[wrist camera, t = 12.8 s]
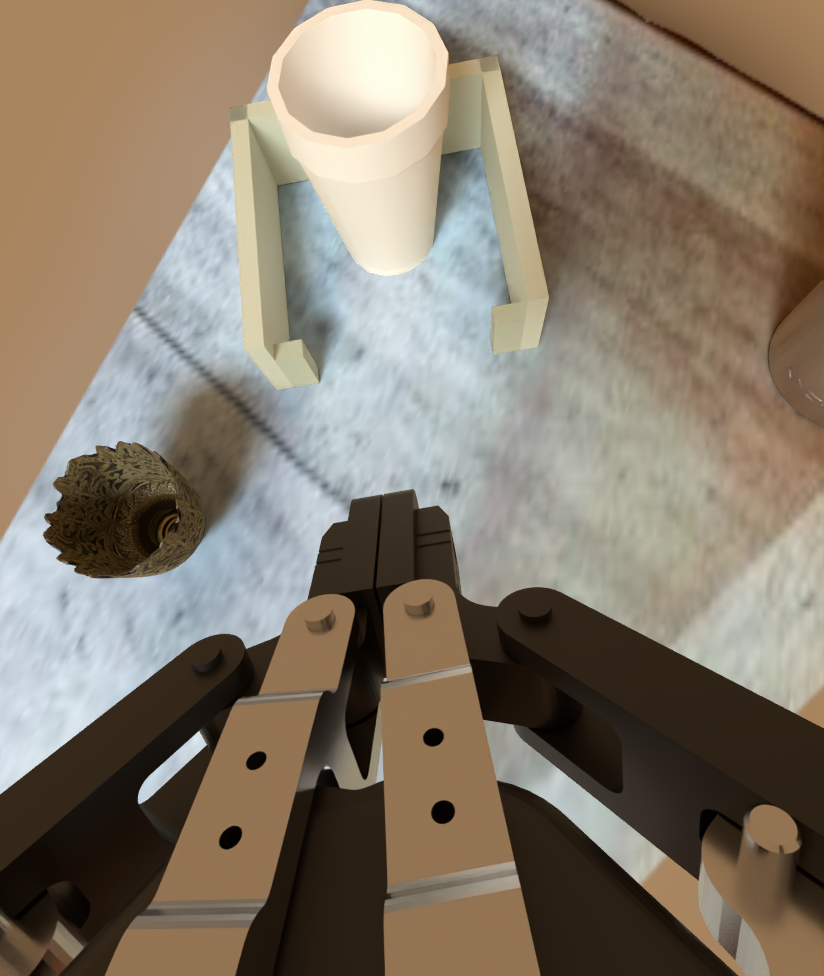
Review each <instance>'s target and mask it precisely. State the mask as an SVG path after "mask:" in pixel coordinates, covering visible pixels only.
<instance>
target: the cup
mask: <svg viewBox="0 0 824 976" xmlns="http://www.w3.org/2000/svg"><path fill="white" fill-rule="evenodd" d="M96 451H97V453H96V454H93V455H82V456H80V457H77V458H74V459H71V460H70V461H69V462H68V464H67V470H66V471H65V475H64V477H58V478H57V479H56V480H55V482H54V483H53V486H54V489H56V490H58V491H59V492H60V493H61V494H62V496H61V499H60V500H59V501H58V502H57V511H56V512H53V513H52V514H50V513H47V514H45V516H44V518H45V520H46V522H47V523H49V524H50V525H51V526H50V527H49V528H48V529H47V530H46V531H45V532H44V534H43V536H44V538H45V540H46V542H47V543H49V544H50V545H51V546H52V547H54V548H56V549H57V550H59V551H60V552H61V554H60V555H58V557H57V558H56V559H57V560H59V561H60V562H63V563H65V564H70V565H74V566H76V568H74V569H75V570H74V571H75V572H76V573H78V574H83V575H86V576H89V577H91V578H132V577H147V576H153V575H158V574H162V573H165V572H168V571H170V570H172V569H174V568H176V567H178V566H179V565H181V564H182V563H183V562H185V561H186V560H187V559H188V558H189V557H190V556H191V555H192V554H193V553H194V551H195V550H196V548H197V547H198V545H199V543H200V541H201V539H202V536H203V533H204V528H205V512H204V507H203V504H202V501H201V499H200V497H199V495H198V493H197V492H196V490H195V489H194V488H193V486H192V485H191V484H190V483H189V482H188V481H187V480H186V479H185V478H184V477H183V476H182V475H181V474H180V473H179V472H178V471H177V470H175V469H174V468H173V467H172V466H171V465H170V464H169V463H167V462H166V461H165V460H164V459H163V458H162V457H161V456H160V455H159V454H158V453H157V452H155V451H154V452H152V451H150V450H149V449H147V448H146V447H144V446H142V445H140V444H138V443H132V444H130V443H128V444H127V443H125V442H121V441H119V442H118V443H117V445H116V449H113V448H110V447H108V446H96ZM173 523H175V528H174V530H172V531H169V529H170V527H171V525H172V524H173ZM168 532H169V533H168Z"/></svg>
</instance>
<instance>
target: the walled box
mask: <svg viewBox="0 0 824 976" xmlns="http://www.w3.org/2000/svg"><path fill="white" fill-rule="evenodd" d="M449 80H450V100H449V111H448V122H447V127H446V128H445V130H444V131H443V140H442V151H441V155H443V154H448V153H454V152H459V151H464V150H470V149H475V148H480V147H481V152H482V157H483V162H484V167H485V173H486V178H487V183H488V188H489V193H490V198H491V203H492V209H493V214H494V219H495V224H496V229H497V234H498V239H499V245H500V250H501V255H502V260H503V265H504V270H505V276H506V281H507V286H508V291H509V296H510V301H511V304H506V305H500V306H494V307H492V320H491V338H490V339H491V345H492V350H493V355H494V354H500V353H506V352H512V351H518V350H524V349H530V348H537V347H538V345H539V340H540V336H541V331H542V327H543V322H544V318H545V313H546V309H547V304H548V300H549V295H548V290H547V286H546V281H545V276H544V272H543V267H542V262H541V257H540V253H539V248H538V243H537V239H536V234H535V229H534V225H533V220H532V215H531V211H530V206H529V201H528V197H527V192H526V187H525V183H524V178H523V173H522V169H521V164H520V159H519V155H518V150H517V145H516V140H515V136H514V131H513V126H512V122H511V117H510V112H509V108H508V103H507V98H506V94H505V89H504V84H503V80H502V75H501V70H500V66H499V61H498V56H497V55H494V56H489V57H484V58H479V59H474V60H469V61H464V62H458V63H453V64H449ZM230 124H231V141H232V157H233V173H234V190H235V206H236V223H237V239H238V256H239V272H240V288H241V305H242V321H243V338H244V350H245V351H246V352H247V353H248V355H249V356H250V357H251V358H252V360H253V361H254V362H255V363H256V365H257V366H258V367H259V368H260V370H261V371H262V372H263V373H264V375H265V376H266V377H267V378H268V380H269V381H270V382H271V383H272V385H273V386H274V387H275V388H276V390H281V389H287V388H293V387H299V386H305V385H312V384H318V383H319V374H318V367H317V365H316V363H315V362H314V360H313V358H312V356H311V355H310V353H309V351H308V349H307V348H306V346H305V344H304V343H303V341H302V339H300V340H294V341H290V335H289V323H288V311H287V299H286V287H285V275H284V263H283V251H282V239H281V227H280V215H279V203H278V191H277V186H278V185H283V184H289V183H294V182H299V181H305V180H309V178H308V176H307V175H306V173H305V171H304V169H303V167H302V166H301V164H300V162H299V161H298V160H297V159H295V158H294V157H293V156H292V154H291V152H290V149H289V147H288V144H287V142H286V139H285V136H284V134H283V131H282V129H281V126H280V124H279V121H278V118H277V116H276V113H275V110H274V108H273V105H272V102H271V100H267V101H262V102H257V103H251V104H246V105H241V106H236V107H231V108H230Z"/></svg>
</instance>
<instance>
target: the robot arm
mask: <svg viewBox="0 0 824 976" xmlns="http://www.w3.org/2000/svg"><path fill="white" fill-rule="evenodd" d="M769 367H770V371H771V374H772V377H773V380H774V383H775V384H776V386H777V388H778V390H779V391H780V393H781V395H782V396H783V397H784V398H785V399H786V401H787V402H788V403H789V404H790V405H791V406H792V407H793V408H794V409H795V410H797V411H798V412H799V413H801V414H802V415H803V416H804V417H806V418H808V419H810V420H812V421H814V422H816V423H818V424H819V425H822V426H824V279H823V280H822V281H821V282H820V283H819V284H818V285H817V286H816V287H815V288H814V289H813V290H812V291H811V292H810V293H809V294H808V295H807V296H806V297H805V298H804V299H803V300H802V301H801V302H800V303H799V304H798V305H797V306H796V307H795V308H794V309H793V310H792V311H791V312H790V313H789V314H788V315H787V316H786V317H785V318H784V320H783V321H782V322H781V323H780V325H779V326H778V327H777V329H776V331H775V333H774V335H773V337H772V339H771V344H770V349H769ZM316 563H317V565H316V566H315V570H314V574H313V579H312V583H311V587H310V591H309V596H308V600H307V601H305V602H303V603H302V604H300V605H299V606H297V607H296V608H295V609H294V610H293V611H292V612H291V613H290V615H289V616H288V618H287V620H286V622H285V625H284V628H283V630H282V633H281V635H279V636H277V637H275V638H273V639H271V640H268V641H265V642H263V643H260V644H258V645H255V646H253V647H250V648H248V649H246V647H245V645H244V643H243V641H242V640H241V639H240V638H239V637H237V636H235V635H231V634H218V635H213V636H210V637H207V638H204V639H202V640H200V641H198V642H196V643H195V644H193V645H191V646H190V647H189V648H187V649H186V650H185V651H183V652H182V653H181V654H180V655H178V656H177V657H176V658H174V659H173V660H172V661H171V662H169V663H168V664H167V665H165V666H164V667H163V668H162V669H160V670H159V671H158V672H156V673H155V674H154V675H153V676H151V677H150V678H149V679H148V680H146V681H145V682H144V683H142V684H141V685H140V686H139V687H137V688H136V689H135V690H133V691H132V692H131V693H130V694H128V695H127V696H126V697H124V698H123V699H122V700H121V701H119V702H118V703H117V704H116V705H114V706H113V707H112V708H110V709H109V710H108V711H107V712H105V713H104V714H103V715H101V716H100V717H99V718H98V719H96V720H95V721H94V722H92V723H91V724H90V725H89V726H87V727H86V728H85V729H84V730H82V731H81V732H80V733H78V734H77V735H76V736H75V737H73V738H72V739H71V740H69V741H68V742H67V743H66V744H64V745H63V746H62V747H60V748H59V749H58V750H57V751H55V752H54V753H53V754H51V755H50V756H49V757H48V758H46V759H45V760H44V761H43V762H41V763H40V764H39V765H37V766H36V767H35V768H34V769H32V770H31V771H30V772H28V773H27V774H26V775H25V776H23V777H22V778H21V779H19V780H18V781H17V782H16V783H14V784H13V785H12V786H11V787H9V788H8V789H7V790H5V791H4V792H3V793H2V794H0V976H738V975H737V974H736V973H735V972H734V971H733V970H732V969H730V968H729V967H728V966H727V965H726V964H725V963H724V962H723V961H722V960H721V959H720V958H719V957H717V956H716V955H715V954H714V953H713V952H712V951H711V950H710V949H709V948H707V946H706V945H705V944H703V943H702V942H701V941H700V940H699V939H698V938H697V937H696V936H695V935H694V934H693V933H692V932H690V931H689V930H688V929H687V928H686V927H685V926H684V925H683V924H682V923H681V922H679V921H678V920H677V919H676V918H675V917H674V916H673V915H672V914H671V913H670V912H669V911H668V910H667V909H666V908H665V907H663V906H662V905H661V904H660V903H659V902H658V901H657V900H656V899H655V898H654V897H653V896H652V895H650V894H649V893H648V892H647V891H646V890H645V889H644V888H643V887H642V886H641V885H640V884H639V883H638V882H636V881H635V880H634V879H633V878H632V877H631V876H630V875H629V874H628V873H627V872H626V871H625V870H624V869H622V868H621V867H620V866H619V865H618V864H617V863H616V862H615V861H614V860H613V859H612V858H611V857H610V856H608V855H607V854H606V853H605V852H604V851H603V850H602V849H601V848H600V847H599V846H598V845H597V844H596V843H594V842H593V841H592V840H591V839H590V838H589V837H588V836H587V835H586V834H585V833H584V832H583V831H582V830H580V829H579V828H578V827H577V826H576V825H575V824H574V823H573V822H572V821H571V820H570V819H569V818H568V817H566V816H565V815H564V814H563V813H562V812H561V811H560V810H558V809H557V808H556V807H554V806H553V805H552V804H550V803H549V802H547V801H546V800H544V799H543V798H541V797H539V796H537V795H536V794H534V793H532V792H530V791H528V790H525V789H523V788H520V787H518V786H515V785H512V784H509V783H505V782H501V781H496V776H495V772H494V767H493V763H492V758H491V754H490V749H489V745H488V740H487V736H486V731H485V727H484V722H483V720H488V721H495V722H501V723H507V724H513V725H514V728H515V730H516V732H517V734H518V735H519V736H520V738H522V739H523V740H524V741H525V742H526V743H527V744H528V745H530V746H531V747H532V748H533V749H535V750H536V751H537V752H538V753H540V754H541V755H542V756H543V757H545V758H546V759H547V760H548V761H550V762H551V763H552V764H553V765H555V766H556V767H557V768H558V769H560V770H561V771H562V772H563V773H565V774H566V775H567V776H568V777H570V778H571V779H572V780H573V781H575V782H576V783H577V784H578V785H580V786H581V787H582V788H583V789H585V790H586V791H587V792H588V793H590V794H591V795H592V796H593V797H595V798H596V799H597V800H598V801H600V802H601V803H602V804H603V805H605V806H606V807H607V808H608V809H610V810H611V811H612V812H613V813H615V814H616V815H617V816H618V817H620V818H621V819H622V820H623V821H625V822H626V823H627V824H628V825H630V826H631V827H632V828H633V829H635V830H636V831H637V832H638V833H640V834H641V835H642V836H643V837H645V838H646V839H647V840H648V841H650V842H651V843H652V844H653V845H655V846H656V847H657V848H658V849H660V850H661V851H662V852H663V853H665V854H666V855H667V856H668V857H670V858H671V859H672V860H673V861H675V862H676V863H677V864H678V865H680V866H681V867H682V868H683V869H685V870H686V871H687V872H688V873H690V874H691V875H692V876H693V877H695V878H696V879H697V880H698V881H699V887H698V899H699V906H700V910H701V913H702V916H703V918H704V920H705V923H706V925H707V926H708V928H709V930H710V932H711V933H712V935H713V936H714V937H715V939H716V940H717V941H718V942H719V944H720V945H721V946H722V947H723V948H724V949H725V950H726V951H727V952H728V953H729V954H730V955H731V957H733V959H734V960H735V961H736V962H737V963H738V965H739V966H740V968H741V969H742V970H743V972H744V973H745V975H746V976H824V728H822V727H820V726H818V725H816V724H814V723H812V722H810V721H808V720H806V719H804V718H802V717H801V716H799V715H797V714H795V713H793V712H791V711H789V710H787V709H785V708H783V707H781V706H779V705H777V704H775V703H773V702H772V701H770V700H768V699H766V698H764V697H762V696H760V695H758V694H756V693H754V692H752V691H750V690H748V689H746V688H744V687H743V686H741V685H739V684H737V683H735V682H733V681H731V680H729V679H727V678H725V677H723V676H721V675H719V674H717V673H715V672H714V671H712V670H710V669H708V668H706V667H704V666H702V665H700V664H698V663H696V662H694V661H692V660H690V659H688V658H686V657H685V656H683V655H681V654H679V653H677V652H675V651H673V650H671V649H669V648H667V647H665V646H663V645H661V644H659V643H657V642H656V641H654V640H652V639H650V638H648V637H646V636H644V635H642V634H640V633H638V632H636V631H634V630H632V629H630V628H628V627H627V626H625V625H623V624H621V623H619V622H617V621H615V620H613V619H611V618H609V617H607V616H605V615H603V614H601V613H600V612H598V611H596V610H594V609H592V608H590V607H588V606H586V605H584V604H582V603H580V602H578V601H576V600H574V599H572V598H571V597H569V596H567V595H565V594H563V593H561V592H558V591H556V590H553V589H549V588H542V587H533V588H526V589H522V590H518V591H516V592H514V593H511V594H510V595H508V596H507V597H506V598H504V599H503V600H502V601H501V603H500V604H499V606H498V607H492V606H484V605H479V604H476V603H473V602H471V601H469V600H467V599H466V598H465V597H463V596H462V595H461V585H460V577H459V569H458V563H457V558H456V553H455V547H454V542H453V537H452V532H451V527H450V522H449V516H448V515H447V514H446V513H445V512H444V511H443V510H442V509H441V508H440V507H439V506H433V507H427V508H421V509H419V506H418V502H417V498H416V494H415V491H414V489H411V490H405V491H399V492H394V493H388V494H384V495H377V496H371V497H365V498H359V499H353V500H352V501H351V506H350V512H349V518H348V521H345V522H339V523H333V525H332V526H331V527H330V528H329V530H328V531H327V532H326V533H325V534H324V536H323V537H322V540H321V544H320V549H319V554H318V557H317V562H316ZM384 678H387V681H386V682H383V680H384ZM198 731H200V733H201V735H202V737H203V738H204V740H205V742H206V744H207V745H206V746H205V747H204V748H203V749H202V750H201V751H200V752H199V753H198V754H197V755H196V756H195V757H194V758H192V759H191V760H190V761H189V762H188V763H187V764H186V765H185V766H184V767H183V768H182V769H181V770H179V771H178V772H177V773H176V774H175V775H174V776H173V777H172V778H171V779H170V780H169V781H168V782H167V783H165V784H164V785H163V786H162V787H161V788H160V789H159V790H158V791H157V792H156V793H155V794H154V795H153V796H151V797H150V798H149V799H148V800H146V801H145V802H143V803H141V804H138V793H139V790H140V788H141V786H142V784H143V783H144V781H145V780H146V779H147V777H148V776H149V775H150V774H151V773H153V772H154V771H155V770H156V769H157V768H158V767H159V766H160V765H161V764H163V763H164V762H165V761H166V760H167V759H168V758H169V757H170V756H171V755H173V754H174V753H175V752H176V751H177V750H178V749H179V748H180V747H181V746H183V745H184V744H185V743H186V742H187V741H188V740H189V739H190V738H191V737H193V736H194V735H195V734H196V733H197V732H198ZM381 742H382V745H383V771H384V781H381V782H378V783H376V779H377V772H378V764H379V757H380V749H381Z"/></svg>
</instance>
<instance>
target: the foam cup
mask: <svg viewBox="0 0 824 976" xmlns="http://www.w3.org/2000/svg"><path fill="white" fill-rule="evenodd" d="M267 92H268V95H269V97H270V100H271V102H272V105H273V108H274V110H275V113H276V116H277V118H278V121H279V124H280V126H281V129H282V131H283V134H284V136H285V139H286V142H287V144H288V147H289V149H290V152H291V154H292V156H293V157H294V158H295V159H297V160H298V161H299V162H300V164H301V166H302V167H303V169H304V171H305V173H306V175H307V176H308V178H309V180H310V182H311V184H312V185H313V187H314V189H315V191H316V193H317V194H318V196H319V198H320V200H321V202H322V204H323V205H324V207H325V209H326V211H327V213H328V214H329V216H330V218H331V220H332V222H333V223H334V225H335V227H336V229H337V231H338V232H339V234H340V236H341V238H342V240H343V241H344V243H345V245H346V247H347V249H348V250H349V252H350V254H351V256H352V257H353V258H354V261H355V262H357V263H358V264H359V265H360V266H361V267H363V268H364V269H365V270H366V271H368V272H371V273H375V274H379V275H384V276H390V275H396V274H402V273H406V272H408V271H410V270H411V269H413V268H414V267H416V266H417V265H419V264H420V263H422V262H423V261H424V259H425V258H426V256H427V255H428V253H429V251H430V250H431V248H432V247H433V239H434V229H435V218H436V207H437V196H438V185H439V173H440V162H441V151H442V140H443V131H444V130H445V128H446V127H447V122H448V111H449V100H450V80H449V57H448V51H447V49H446V47H445V45H444V43H443V41H442V39H441V38H440V36H439V34H438V32H437V30H436V28H435V26H434V24H433V23H431V22H430V21H428V20H427V19H425V18H423V17H422V16H420V15H419V14H417V13H416V12H414V11H413V10H411V9H409V8H408V7H406V6H405V5H400V4H393V3H386V2H379V1H372V0H363V1H358V2H353V3H348V4H344V5H339V6H334V7H329V8H327V9H325V10H323V11H322V12H320V13H319V14H317V15H315V16H314V17H312V18H310V19H309V20H307V21H305V22H304V23H302V24H300V25H299V26H297V27H296V28H294V29H293V31H292V32H291V33H290V35H289V36H288V37H287V39H286V40H285V41H284V43H283V44H282V45H281V47H280V48H279V49H278V51H277V52H276V53H275V55H274V56H273V58H272V63H271V68H270V74H269V79H268V85H267Z"/></svg>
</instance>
